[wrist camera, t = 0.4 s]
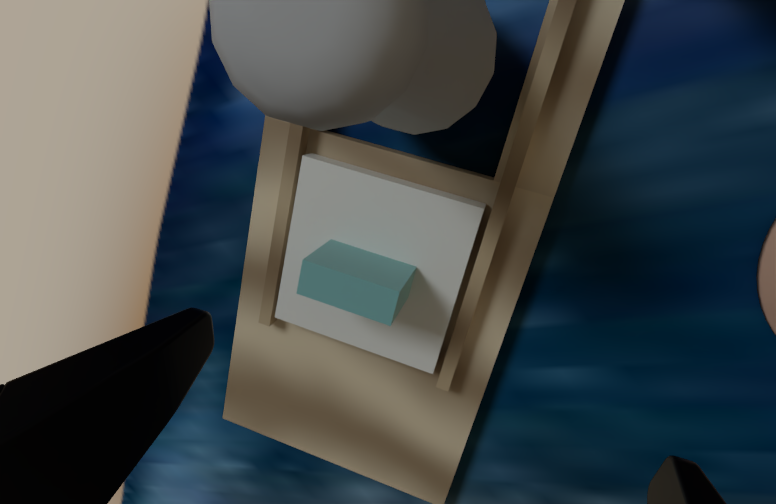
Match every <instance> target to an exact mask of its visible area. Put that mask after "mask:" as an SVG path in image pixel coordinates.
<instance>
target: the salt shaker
mask: <svg viewBox="0 0 776 504" xmlns="http://www.w3.org/2000/svg"><path fill="white" fill-rule="evenodd" d="M209 4H210V18H211V32H212V42H213V44H214V47H215V49H216V51H217V53H218V55H219V57H220V59H221V61H222V63H223V65H224V67H225V69H226V71H227V73H228V75H229V77H230V79H231V82H232V84H233V86H235V87H236V88H237V89H238V90H239V91H240V92H241V93H242V94H243V95H244V96H245V97H246V98H248V99H249V100H250V101H251V102H252V103H253V104H254V105H255V106H256V107H257V108H258V109H259V110H261V111H262V112H263V113H264V114H265V115H266V116H268V117H271V118H275V119H278V120H282V121H286V122H289V123H293V124H297V125H300V126H304V127H307V128H311V129H315V130H318V131H325V130H330V129H335V128H340V127H345V126H350V125H355V124H360V123H364V122H367V121H370V120H371V121H372V122H374V123H376V124H378V125H380V126H383V127H387V128H390V129H394V130H398V131H401V132H405V133H409V134H413V135H416V134H421V133H427V132H432V131H437V130H443V129H447V128H448V127H450V126H451V125H452V124H454V123H455V122H456V121H458V120H459V119H460V118H462V117H463V116H464V115H466V114H467V113H468V112H469V111H471V110H472V109H473V108H475V107H476V105H477V103H478V102H479V100H480V98H481V96H482V94H483V92H484V91H485V89H486V87H487V85H488V83H489V81H490V80H491V78H492V76H493V74H494V66H495V52H496V39H497V33H496V30H495V27H494V25H493V22H492V19H491V17H490V14H489V11H488V9H487V6H486V3H485V0H209Z"/></svg>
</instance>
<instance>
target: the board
mask: <svg viewBox="0 0 776 504" xmlns="http://www.w3.org/2000/svg"><path fill="white" fill-rule="evenodd" d="M624 1H625V0H550V1H549V4H548V7H547V10H546V14H545V17H544V20H543V23H542V26H541V30H540V33H539V36H538V39H537V43H536V46H535V49H534V52H533V55H532V59H531V62H530V65H529V68H528V71H527V75H526V78H525V81H524V84H523V88H522V91H521V94H520V97H519V100H518V104H517V107H516V110H515V113H514V116H513V120H512V123H511V126H510V129H509V133H508V136H507V139H506V142H505V145H504V149H503V152H502V155H501V158H500V161H499V165H498V168H497V171H496V174H495V177H490V176H487V175H483V174H480V173H476V172H473V171H469V170H465V169H462V168H458V167H455V166H451V165H448V164H444V163H441V162H437V161H433V160H430V159H426V158H423V157H419V156H416V155H412V154H409V153H405V152H401V151H398V150H394V149H391V148H387V147H384V146H380V145H377V144H373V143H369V142H366V141H362V140H359V139H355V138H352V137H348V136H345V135H341V134H337V133H334V132H330V131H327V130H325V131H318V130H315V129H311V128H307V127H304V126H300V125H297V124H293V123H289V122H286V121H282V120H278V119H275V118H271V117H268V116H266V115H265V122H264V129H263V136H262V143H261V150H260V157H259V164H258V172H257V179H256V186H255V193H254V200H253V207H252V214H251V221H250V228H249V235H248V242H247V249H246V256H245V263H244V270H243V278H242V285H241V292H240V299H239V306H238V313H237V320H236V327H235V334H234V341H233V348H232V355H231V362H230V369H229V377H228V384H227V391H226V398H225V405H224V412H223V418H224V419H226V420H228V421H231V422H233V423H236V424H238V425H241V426H243V427H246V428H248V429H251V430H253V431H256V432H258V433H260V434H263V435H265V436H268V437H270V438H273V439H275V440H278V441H280V442H283V443H285V444H288V445H290V446H292V447H295V448H297V449H300V450H302V451H305V452H307V453H310V454H312V455H315V456H317V457H320V458H322V459H324V460H327V461H329V462H332V463H334V464H337V465H339V466H342V467H344V468H347V469H349V470H351V471H354V472H356V473H359V474H361V475H364V476H366V477H369V478H371V479H374V480H376V481H379V482H381V483H383V484H386V485H388V486H391V487H393V488H396V489H398V490H401V491H403V492H406V493H408V494H411V495H413V496H415V497H418V498H420V499H423V500H425V501H428V502H430V503H433V504H444V503H445V500H446V497H447V494H448V492H449V489H450V486H451V483H452V480H453V478H454V475H455V472H456V469H457V466H458V464H459V461H460V458H461V455H462V453H463V450H464V447H465V444H466V441H467V439H468V436H469V433H470V430H471V427H472V425H473V422H474V419H475V416H476V414H477V411H478V408H479V405H480V402H481V400H482V397H483V394H484V391H485V388H486V386H487V383H488V380H489V377H490V374H491V372H492V369H493V366H494V363H495V361H496V358H497V355H498V352H499V349H500V347H501V344H502V341H503V338H504V335H505V333H506V330H507V327H508V324H509V322H510V319H511V316H512V313H513V310H514V308H515V305H516V302H517V299H518V296H519V294H520V291H521V288H522V285H523V283H524V280H525V277H526V274H527V271H528V269H529V266H530V263H531V260H532V257H533V255H534V252H535V249H536V246H537V244H538V241H539V238H540V235H541V232H542V230H543V227H544V224H545V221H546V218H547V216H548V213H549V210H550V207H551V204H552V202H553V199H554V196H555V193H556V191H557V188H558V185H559V182H560V179H561V177H562V174H563V171H564V168H565V165H566V163H567V160H568V157H569V154H570V152H571V149H572V146H573V143H574V140H575V138H576V135H577V132H578V129H579V126H580V124H581V121H582V118H583V115H584V113H585V110H586V107H587V104H588V101H589V99H590V96H591V93H592V90H593V87H594V85H595V82H596V79H597V76H598V74H599V71H600V68H601V65H602V62H603V60H604V57H605V54H606V51H607V48H608V46H609V43H610V40H611V37H612V34H613V32H614V29H615V26H616V23H617V21H618V18H619V15H620V12H621V9H622V7H623V4H624ZM310 153H314V154H317V155H320V156H324V157H327V158H331V159H334V160H338V161H341V162H344V163H348V164H351V165H355V166H358V167H362V168H365V169H368V170H372V171H375V172H379V173H382V174H386V175H389V176H392V177H396V178H399V179H403V180H406V181H410V182H413V183H416V184H420V185H423V186H427V187H430V188H434V189H437V190H440V191H444V192H447V193H451V194H454V195H458V196H461V197H464V198H468V199H471V200H475V201H478V202H482V203H485V204H486V206H485V210H484V213H483V216H482V219H481V222H480V226H479V229H478V232H477V235H476V238H475V242H474V245H473V248H472V251H471V255H470V258H469V261H468V264H467V267H466V271H465V274H464V277H463V280H462V283H461V287H460V290H459V293H458V296H457V299H456V303H455V306H454V309H453V312H452V316H451V319H450V322H449V325H448V328H447V332H446V335H445V338H444V341H443V344H442V348H441V351H440V354H439V357H438V361H437V364H436V366H435V369H434V372H433V374H431V373H428V372H425V371H422V370H420V369H417V368H414V367H411V366H408V365H406V364H403V363H400V362H397V361H395V360H392V359H389V358H386V357H383V356H381V355H378V354H375V353H372V352H369V351H367V350H364V349H361V348H358V347H356V346H353V345H350V344H347V343H344V342H342V341H339V340H336V339H333V338H331V337H328V336H325V335H322V334H319V333H317V332H314V331H311V330H308V329H305V328H303V327H300V326H297V325H294V324H292V323H289V322H286V321H283V320H280V319H278V318H275V312H276V306H277V301H278V295H279V289H280V283H281V277H282V271H283V266H284V260H285V254H286V248H287V242H288V236H289V231H290V225H291V219H292V213H293V207H294V201H295V196H296V190H297V184H298V178H299V172H300V166H301V161H302V155H306V154H310Z"/></svg>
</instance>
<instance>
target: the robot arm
mask: <svg viewBox="0 0 776 504" xmlns="http://www.w3.org/2000/svg"><path fill="white" fill-rule="evenodd" d="M213 346H214V334H213V324H212V317H211V315H210V313H208V312H206V311H203V310H200V309H197V308H188V309H186V310H183V311H181V312H178V313H176V314H173V315H171V316H168V317H166V318H163V319H161V320H159V321H156V322H154V323H151V324H149V325H146V326H144V327H141V328H139V329H137V330H134V331H132V332H129V333H127V334H124V335H122V336H119V337H117V338H114V339H112V340H110V341H107V342H105V343H103V344H100V345H97V346H95V347H92V348H90V349H87V350H85V351H82V352H80V353H78V354H75V355H73V356H70V357H68V358H65V359H63V360H60V361H58V362H56V363H53V364H51V365H48V366H46V367H43V368H41V369H38V370H36V371H33V372H31V373H28V374H26V375H23V376H21V377H19V378H16V379H14V380H12V381H9V382H7V383H6V384H5V385H4V384H1V385H0V504H107V503H108V502H109V501H110V499H111V498H112V497H113V495H114V494H115V493H116V491H117V490H118V489H119V487H120V486H121V485H122V483H123V482H124V481H125V479H126V478H127V477H128V475H129V474H130V473H131V471H132V470H133V469H134V467H135V466H136V465H137V463H138V462H139V461H140V459H141V458H142V457H143V455H144V454H145V453H146V451H147V450H148V449H149V447H150V446H151V445H152V443H153V442H154V441H155V439H156V438H157V437H158V435H159V434H160V433H161V431H162V430H163V429H164V427H165V426H166V425H167V423H168V422H169V420H170V419H171V418H172V416H173V415H174V413H175V412H176V410H177V409H178V407H179V406H180V404H181V402H182V401H183V399H184V397H185V396H186V394H187V392H188V391H189V389H190V387H191V386H192V384H193V382H194V381H195V379H196V377H197V376H198V374H199V372H200V371H201V369H202V367H203V365H204V364H205V362H206V360H207V359H208V357H209V355H210V354H211V352H212V350H213ZM647 504H726V503H725V501H724V500H723V498H722V497H721V496H720V494H719V493H718V492H717V490H716V489H715V488H714V486H713V485H712V483H711V482H710V481H709V479H708V478H707V477H706V475H705V474H704V472H703V471H702V470H701V468H700V467H699V466H698V465H697V464H696V463H694V462H693V461H690V460H687V459H683V458H680V457H677V456H669V457H667V458H666V459H665V461H664V462H663V464H662V465H661V467H660V468H659V470H658V471H657V473H656V474H655V476H654V477H653V479H652V480H651V482H650V484H649V488H648V495H647Z"/></svg>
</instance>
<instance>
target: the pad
mask: <svg viewBox="0 0 776 504" xmlns="http://www.w3.org/2000/svg"><path fill="white" fill-rule="evenodd" d="M757 293H758V297H759V302H760V306H761V309H762V311H763V314H764V316H765V319H766V321H767V323H768V324H769V326H770V328H771V329H772V331H773V333H774V334H775V335H776V219H775V220H774V222H773V224H772V225H771V227H770V229H769V231H768V233H767V235H766V238H765V240H764V242H763V245H762V248H761V252H760V256H759V259H758V267H757Z"/></svg>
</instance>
